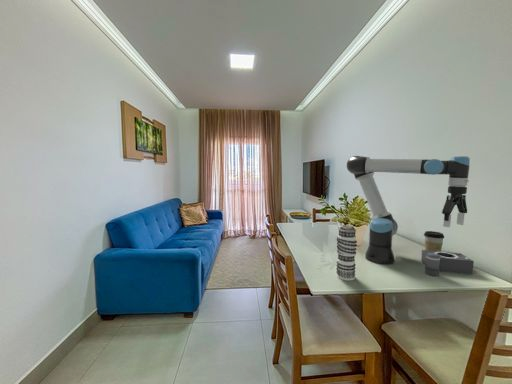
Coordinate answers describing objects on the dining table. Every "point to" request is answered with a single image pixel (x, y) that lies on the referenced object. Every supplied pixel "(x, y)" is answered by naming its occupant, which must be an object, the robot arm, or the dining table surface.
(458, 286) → the dining table surface
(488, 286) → the dining table surface
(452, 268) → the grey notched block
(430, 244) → the coffee cup
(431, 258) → the lens
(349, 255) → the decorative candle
